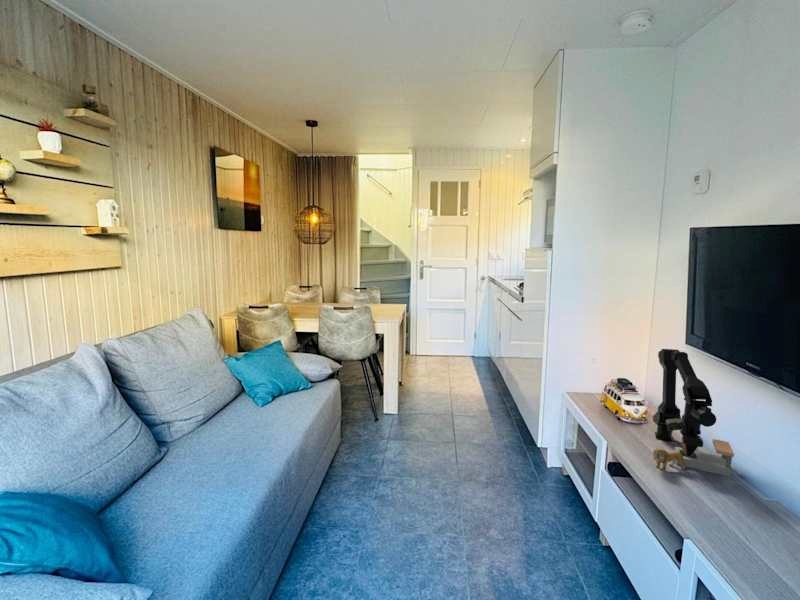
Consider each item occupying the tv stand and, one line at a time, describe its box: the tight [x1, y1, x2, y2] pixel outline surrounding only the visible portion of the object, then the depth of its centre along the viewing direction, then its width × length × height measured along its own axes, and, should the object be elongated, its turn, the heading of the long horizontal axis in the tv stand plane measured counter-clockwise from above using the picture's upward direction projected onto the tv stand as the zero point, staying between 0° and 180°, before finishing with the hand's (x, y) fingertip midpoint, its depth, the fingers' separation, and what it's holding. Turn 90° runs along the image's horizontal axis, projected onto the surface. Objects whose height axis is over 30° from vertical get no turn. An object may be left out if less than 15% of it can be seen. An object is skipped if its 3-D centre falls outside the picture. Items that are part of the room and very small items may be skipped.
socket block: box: [674, 446, 732, 478], centre depth 166 cm, size 10×17×3 cm, turn 61°
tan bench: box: [712, 438, 735, 469], centre depth 163 cm, size 11×5×9 cm, turn 151°
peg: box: [681, 442, 694, 458], centre depth 168 cm, size 4×4×7 cm
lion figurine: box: [652, 447, 686, 472], centre depth 162 cm, size 15×5×9 cm, turn 107°
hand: (688, 453), depth 168 cm, fingers closed on peg, 4 cm apart
